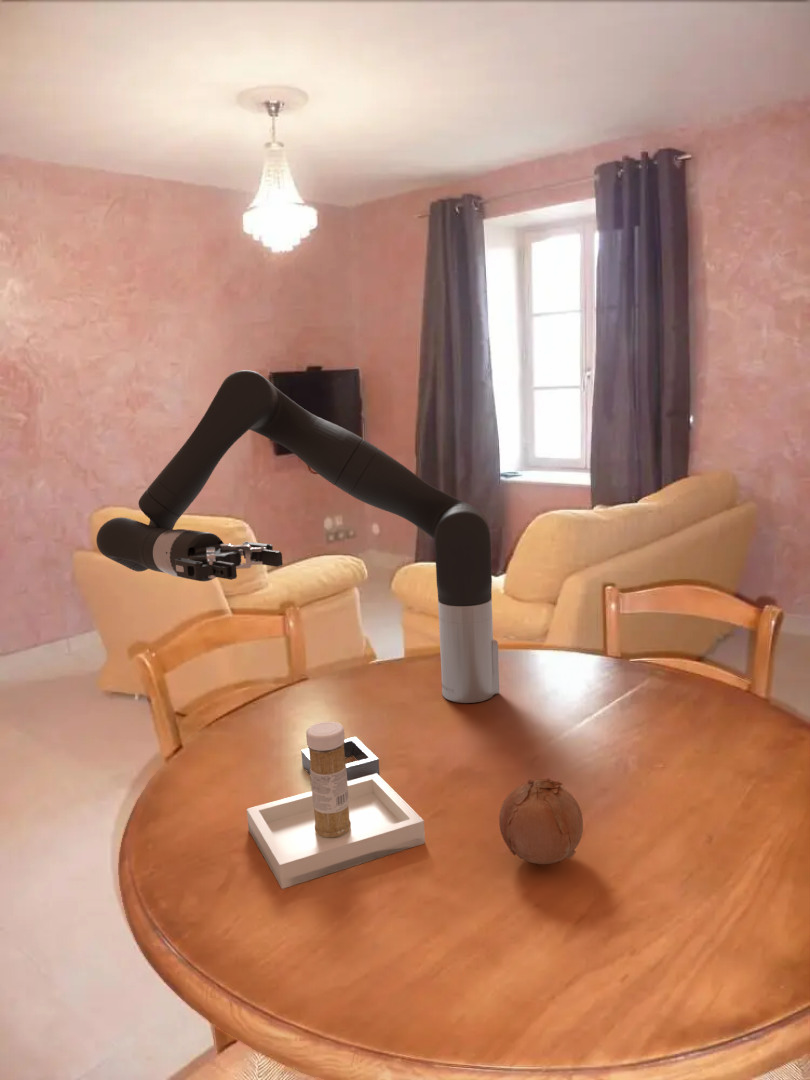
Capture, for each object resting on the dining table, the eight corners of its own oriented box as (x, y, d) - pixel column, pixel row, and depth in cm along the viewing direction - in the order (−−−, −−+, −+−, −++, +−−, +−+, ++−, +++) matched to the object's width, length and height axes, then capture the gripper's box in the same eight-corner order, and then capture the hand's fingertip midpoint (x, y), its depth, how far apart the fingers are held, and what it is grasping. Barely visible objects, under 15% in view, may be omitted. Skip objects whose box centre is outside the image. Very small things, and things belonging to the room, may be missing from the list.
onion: (549, 829, 102) (547, 754, 100) (601, 867, 93) (600, 786, 91) (484, 853, 97) (481, 775, 95) (533, 895, 89) (531, 810, 87)
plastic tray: (378, 793, 112) (376, 773, 112) (425, 843, 100) (423, 820, 99) (248, 830, 105) (246, 808, 104) (281, 889, 93) (279, 864, 92)
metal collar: (356, 751, 125) (355, 736, 125) (379, 775, 118) (378, 758, 117) (302, 765, 122) (301, 750, 121) (322, 790, 114) (321, 774, 114)
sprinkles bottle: (337, 815, 105) (329, 716, 103) (358, 829, 102) (351, 727, 99) (307, 829, 103) (298, 728, 100) (328, 843, 99) (319, 739, 97)
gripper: (146, 539, 122) (215, 549, 112) (223, 522, 133) (292, 530, 123) (152, 588, 124) (220, 602, 113) (227, 568, 134) (296, 579, 124)
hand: (258, 565), depth 118 cm, fingers open, 8 cm apart
